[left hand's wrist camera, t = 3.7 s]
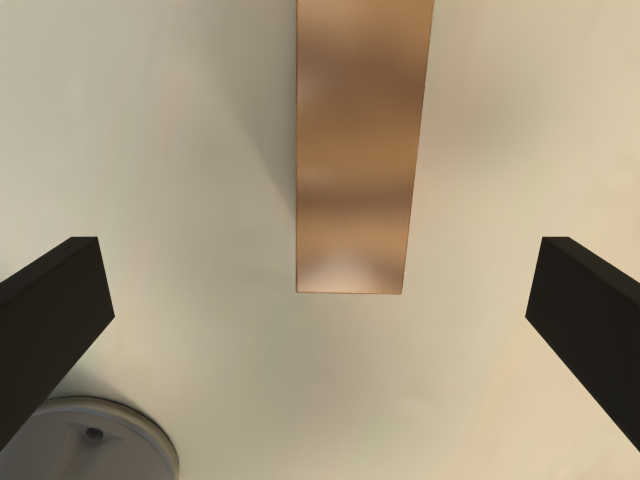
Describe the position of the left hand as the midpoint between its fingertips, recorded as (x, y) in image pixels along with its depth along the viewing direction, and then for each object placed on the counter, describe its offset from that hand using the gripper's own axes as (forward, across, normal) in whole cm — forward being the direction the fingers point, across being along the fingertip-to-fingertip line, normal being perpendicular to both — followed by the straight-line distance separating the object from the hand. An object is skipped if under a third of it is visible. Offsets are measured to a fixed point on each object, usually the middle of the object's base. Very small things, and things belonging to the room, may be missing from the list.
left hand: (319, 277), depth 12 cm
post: (+16, -2, -32) cm, 36 cm away
